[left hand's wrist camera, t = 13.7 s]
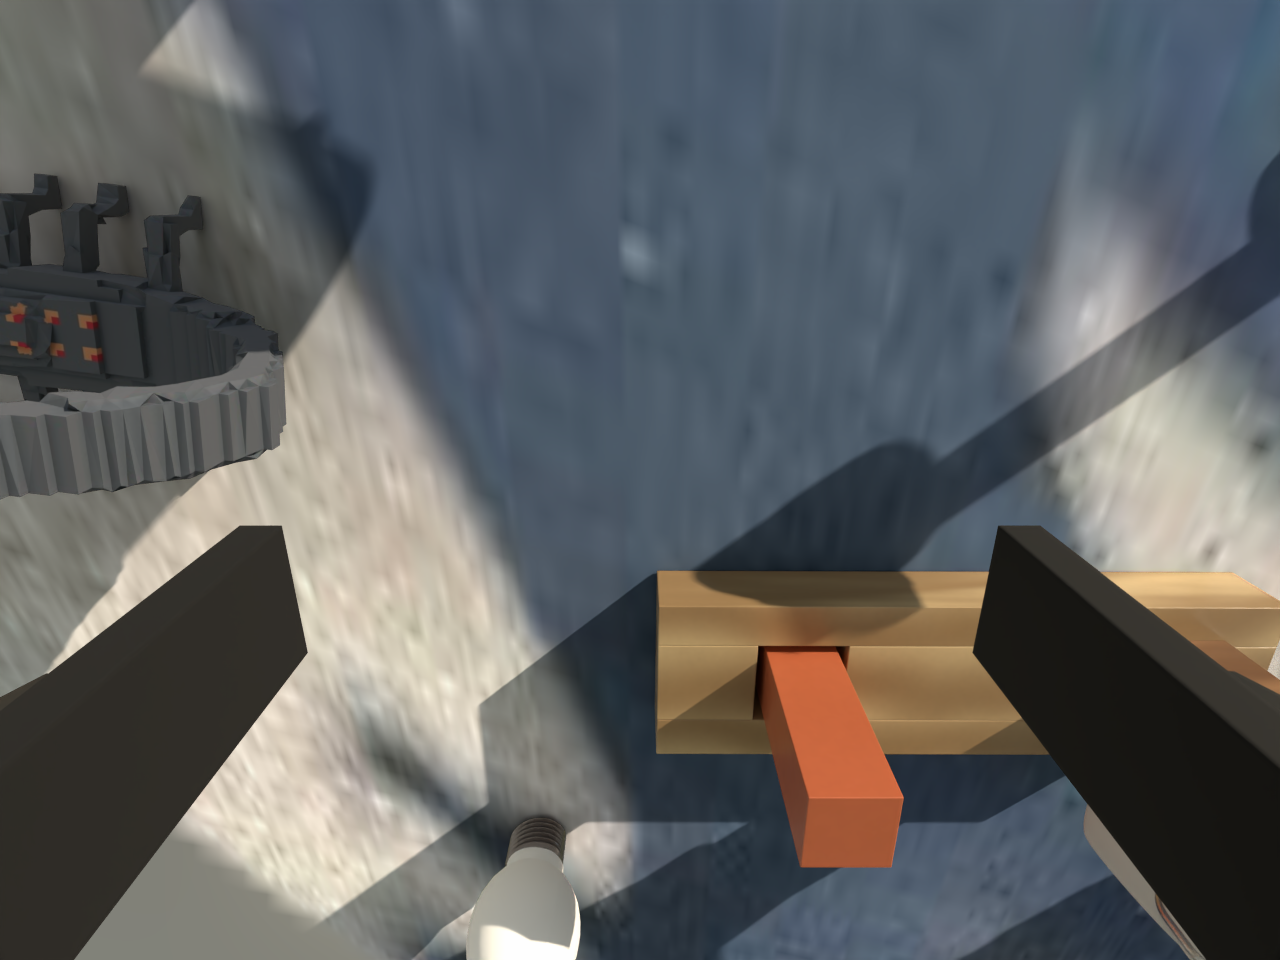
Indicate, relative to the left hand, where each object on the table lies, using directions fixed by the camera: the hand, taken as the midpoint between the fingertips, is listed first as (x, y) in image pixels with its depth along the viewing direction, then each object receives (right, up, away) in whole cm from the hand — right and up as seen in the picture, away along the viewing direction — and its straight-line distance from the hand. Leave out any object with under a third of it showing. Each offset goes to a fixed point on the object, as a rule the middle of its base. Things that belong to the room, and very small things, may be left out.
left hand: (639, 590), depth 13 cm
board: (+18, -8, +30) cm, 35 cm away
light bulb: (-7, -23, +35) cm, 43 cm away
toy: (-27, +11, +22) cm, 37 cm away
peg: (+9, -8, +30) cm, 32 cm away
